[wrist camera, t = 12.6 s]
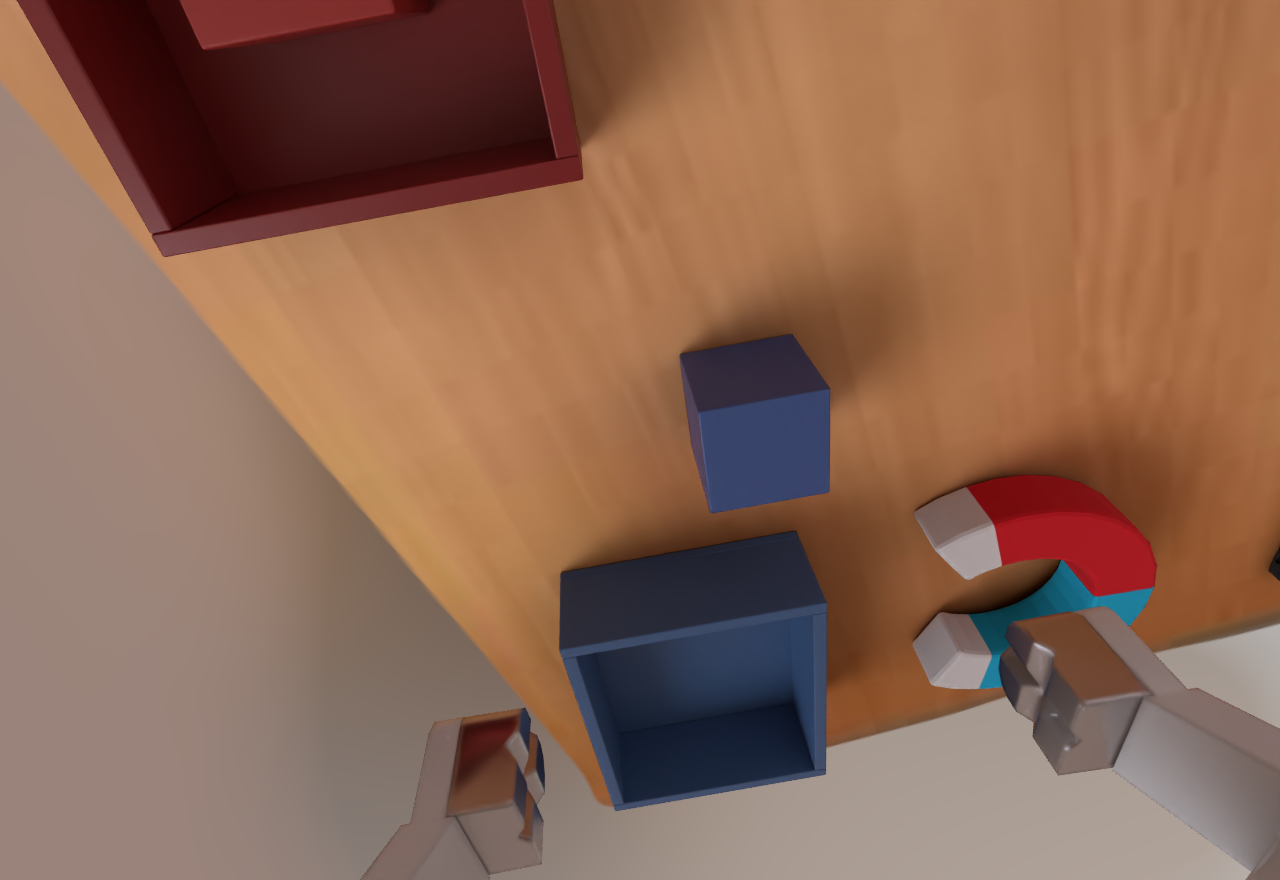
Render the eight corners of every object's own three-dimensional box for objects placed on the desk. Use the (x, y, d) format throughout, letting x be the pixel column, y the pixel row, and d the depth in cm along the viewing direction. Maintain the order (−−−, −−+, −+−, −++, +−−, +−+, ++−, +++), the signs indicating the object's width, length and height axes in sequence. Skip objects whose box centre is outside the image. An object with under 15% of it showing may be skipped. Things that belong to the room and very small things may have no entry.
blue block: (678, 353, 25) (697, 412, 21) (792, 332, 25) (830, 388, 21) (691, 447, 27) (710, 514, 24) (795, 428, 27) (830, 492, 24)
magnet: (1132, 668, 33) (931, 700, 34) (1099, 625, 35) (911, 656, 36) (1186, 486, 27) (937, 532, 28) (1141, 449, 29) (912, 492, 30)
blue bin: (560, 572, 31) (558, 650, 27) (795, 529, 30) (827, 602, 27) (610, 732, 38) (614, 811, 34) (801, 699, 38) (826, 775, 34)
